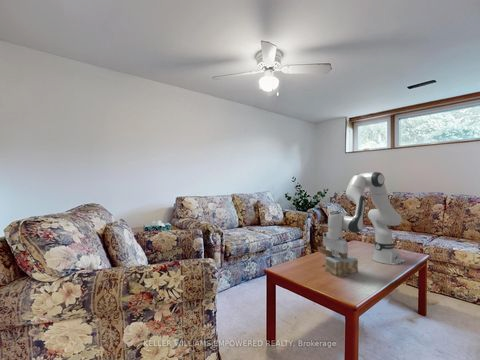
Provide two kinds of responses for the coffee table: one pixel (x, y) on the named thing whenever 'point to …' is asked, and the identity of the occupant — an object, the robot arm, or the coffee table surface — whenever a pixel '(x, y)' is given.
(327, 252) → the bar
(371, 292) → the coffee table surface
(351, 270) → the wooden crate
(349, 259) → the lid
